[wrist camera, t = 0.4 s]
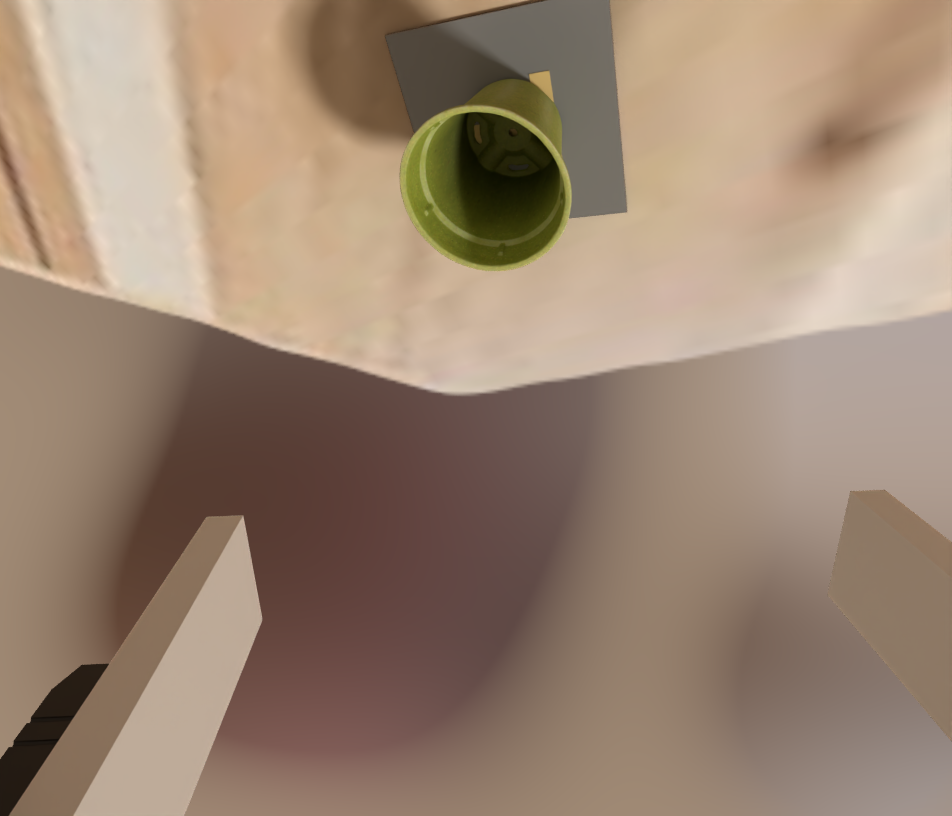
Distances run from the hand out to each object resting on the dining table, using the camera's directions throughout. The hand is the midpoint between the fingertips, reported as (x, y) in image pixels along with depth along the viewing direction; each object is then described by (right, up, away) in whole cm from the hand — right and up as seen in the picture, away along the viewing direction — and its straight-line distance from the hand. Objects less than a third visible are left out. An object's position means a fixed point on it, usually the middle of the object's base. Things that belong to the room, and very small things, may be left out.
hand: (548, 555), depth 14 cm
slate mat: (+1, +21, +26) cm, 33 cm away
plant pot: (+1, +21, +26) cm, 33 cm away
